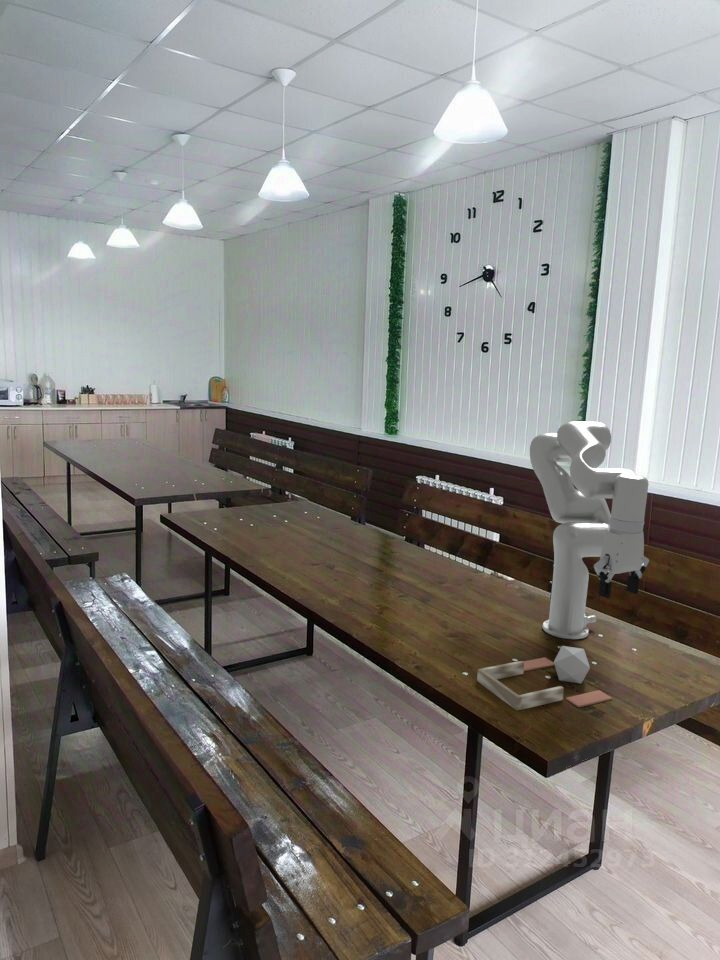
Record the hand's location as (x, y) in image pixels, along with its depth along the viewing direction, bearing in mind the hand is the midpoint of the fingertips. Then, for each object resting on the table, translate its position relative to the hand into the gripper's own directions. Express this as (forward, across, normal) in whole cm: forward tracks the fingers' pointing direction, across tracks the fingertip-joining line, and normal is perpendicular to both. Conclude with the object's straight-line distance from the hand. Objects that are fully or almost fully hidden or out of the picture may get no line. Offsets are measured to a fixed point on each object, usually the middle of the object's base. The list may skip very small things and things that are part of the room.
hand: (618, 594), depth 174 cm
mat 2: (+20, +16, +10) cm, 27 cm away
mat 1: (+20, +16, -9) cm, 27 cm away
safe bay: (+20, +28, 0) cm, 34 cm away
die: (+20, +13, 0) cm, 24 cm away
